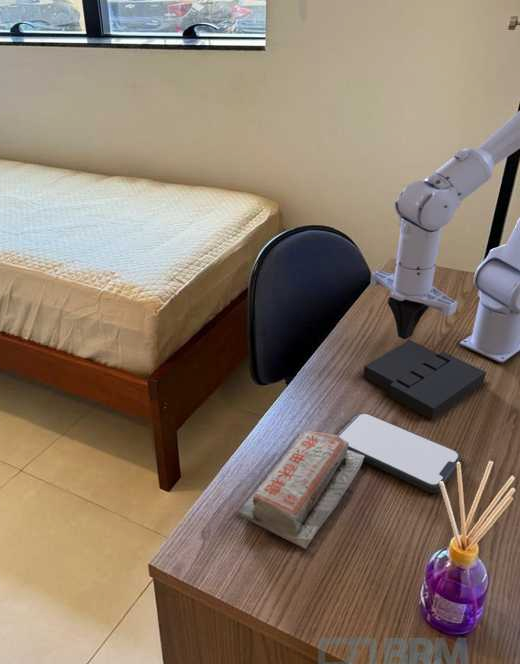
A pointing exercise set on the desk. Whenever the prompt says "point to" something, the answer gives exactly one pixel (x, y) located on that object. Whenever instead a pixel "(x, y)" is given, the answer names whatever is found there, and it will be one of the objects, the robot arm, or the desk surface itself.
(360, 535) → the desk surface
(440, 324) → the desk surface
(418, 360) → the loose pad
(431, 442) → the smartphone
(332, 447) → the packaged product
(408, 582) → the desk surface
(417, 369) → the pad
